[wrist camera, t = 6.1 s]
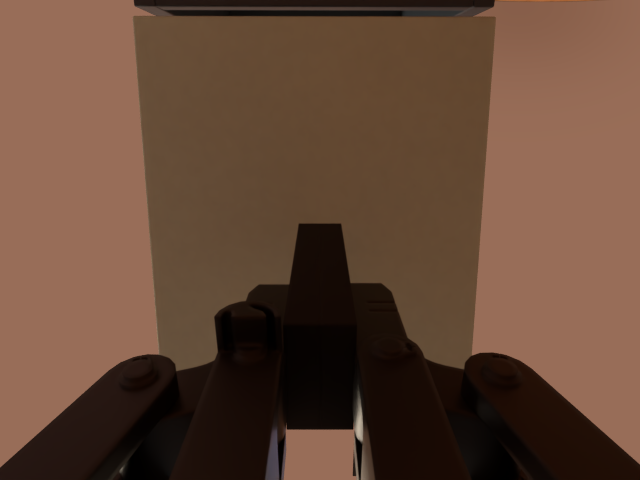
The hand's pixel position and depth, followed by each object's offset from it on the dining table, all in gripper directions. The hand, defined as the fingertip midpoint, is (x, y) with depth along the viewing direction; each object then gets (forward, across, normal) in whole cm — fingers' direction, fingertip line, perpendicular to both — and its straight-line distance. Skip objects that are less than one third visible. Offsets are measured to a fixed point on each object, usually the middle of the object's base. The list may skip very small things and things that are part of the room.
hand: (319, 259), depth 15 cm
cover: (+3, 0, 0) cm, 3 cm away
